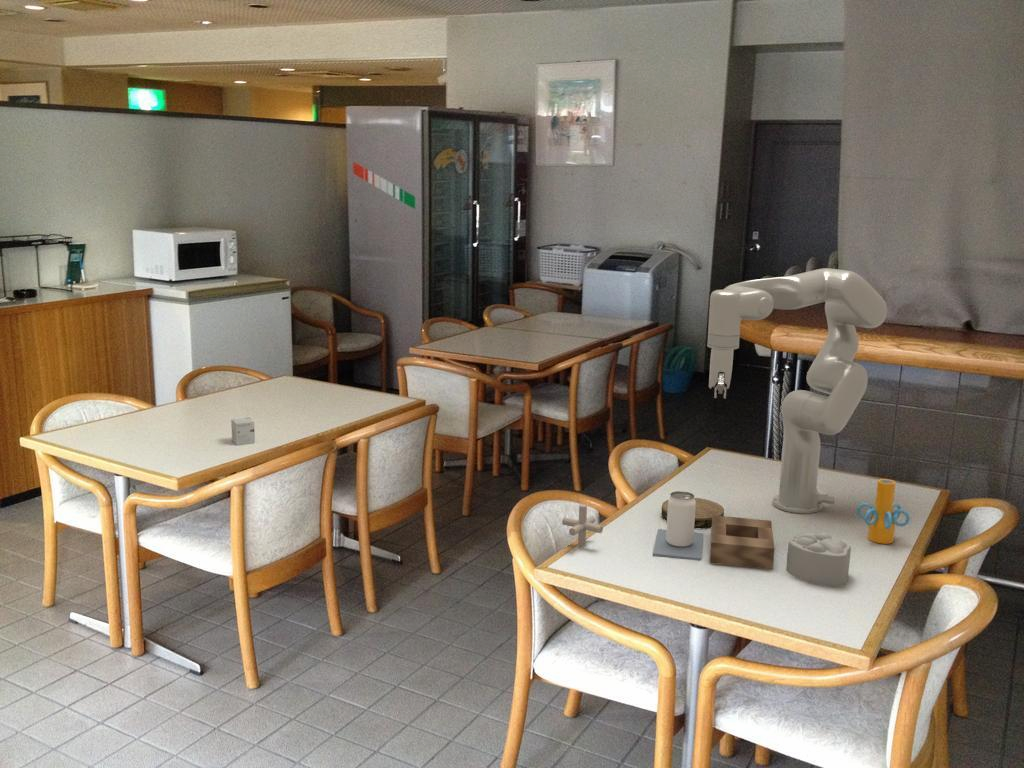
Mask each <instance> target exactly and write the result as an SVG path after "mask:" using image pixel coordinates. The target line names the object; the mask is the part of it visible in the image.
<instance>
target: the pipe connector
mask: <svg viewBox="0 0 1024 768" xmlns="http://www.w3.org/2000/svg"><path fill="white" fill-rule="evenodd" d="M587 513H588V506H587V504H584V503H581V504H579V505H578V519H573V518H570V517H565V516H564V517H563V518H562V523H561V524H562V525H563V526H568V527H570V529H569V530H568V533H569V535H570V536H573V537H574V536H575V535H578V537H577V546H578V547H582V548H583V547H586V544H587V531H588V532H593V533H597V534H602V533H603V531H604V526H603V525H601V524H600V525H599V524H595V522H596V517H595V516H594V515H589V516H588V517H587Z"/></svg>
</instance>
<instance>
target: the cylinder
mask: <svg viewBox="0 0 1024 768" xmlns="http://www.w3.org/2000/svg"><path fill="white" fill-rule="evenodd" d="M895 490H896V481H895V480H892V479H889V478H880V479H878V480H877V486H876V496H875V504H874V506H873V505H872V504H870V503H868V502H863V503H860V504H858V506H857V508H856V513H857V516H858V517H859V518H860V519H862V520H864V523H865V524H866V525H867V526H868V529H867V530H868V531H867V539H868V540H869V541H871V542H874V543H876V544H883V545H887V544H892V543H893V542H894V540H895V531H896V526H897V527H904V526H907V525H908V524H909V523H910V521H911V516H910V514H909V512H908V511H907V510H904V509H902V507H901V505H900V504H899V503H894V501H895V492H896V491H895ZM863 507H867V508H869V509H868V510H867V511H866V513H865V515H863V514H862V513H861V509H862V508H863ZM894 508H897V509H895V510H894ZM901 514H904V515H905V518H906V520H905V521H904V522H898V521H897V520H898V519H899V518H900V516H901Z"/></svg>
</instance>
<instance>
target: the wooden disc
mask: <svg viewBox="0 0 1024 768" xmlns="http://www.w3.org/2000/svg"><path fill="white" fill-rule="evenodd" d="M694 499H695V502H696V506H695V523H694V528H701V529H702V528H705V529H712V528H711V527H712V515H714V516H725V509H724V507H723V506H722V504H719V503H717V502H716V501H713V500H710V499H704V498H700V497H694ZM668 500H669V499H667V500H665V501H663V502H662V504H661V513H660V514H661V515H662V516H661V515H660V516H661V518H662V517H663V518H662V520H664V519H665V520H666V521H665V520H664V521H665V522H667V512H668ZM702 530H703V529H702Z"/></svg>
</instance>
